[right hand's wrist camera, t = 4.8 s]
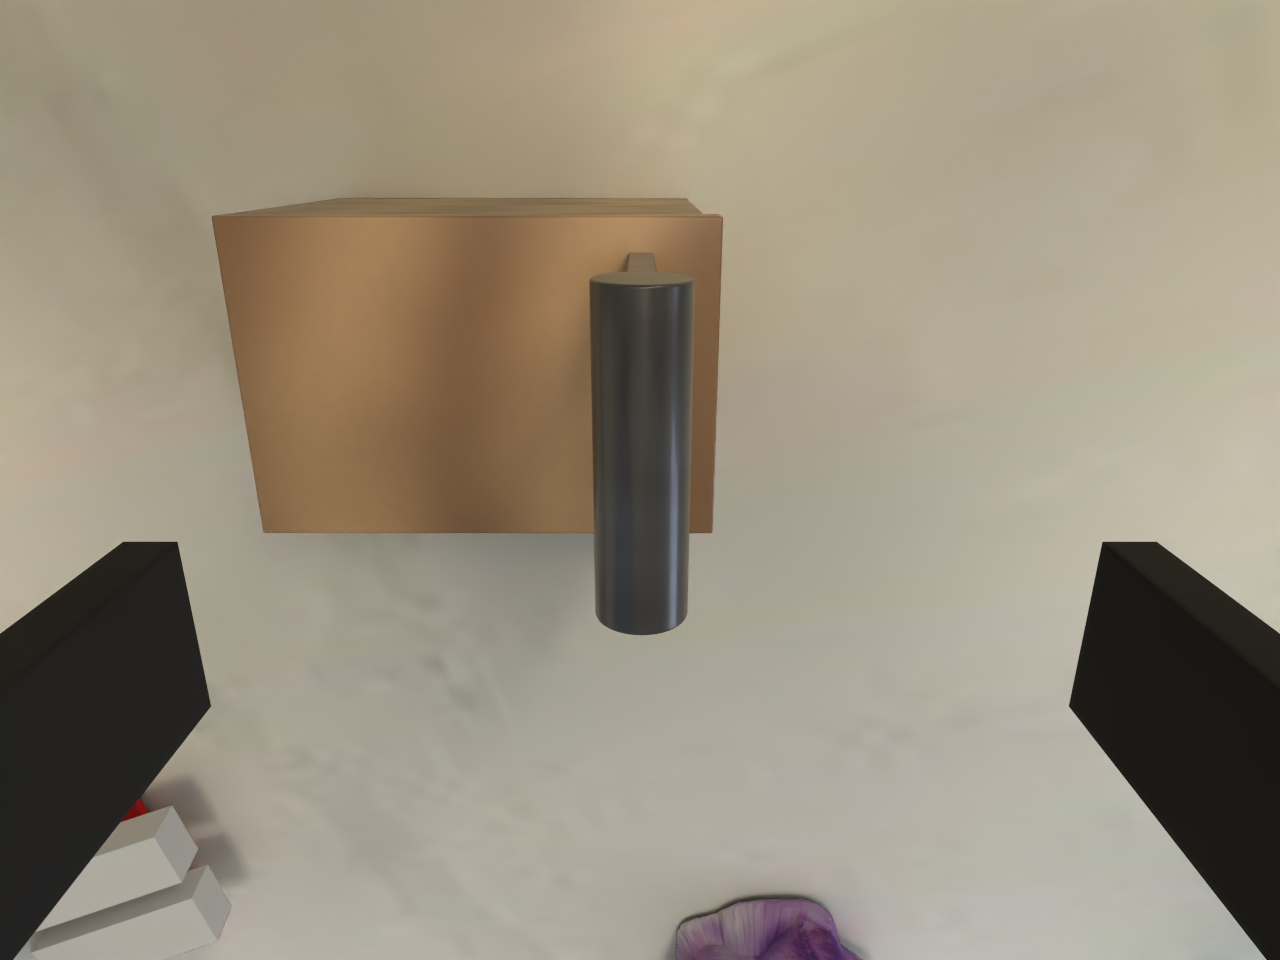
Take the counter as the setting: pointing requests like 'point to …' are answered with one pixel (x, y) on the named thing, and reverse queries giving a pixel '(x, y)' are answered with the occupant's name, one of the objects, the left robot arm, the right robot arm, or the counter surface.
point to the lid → (486, 381)
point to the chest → (488, 206)
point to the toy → (135, 898)
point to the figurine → (763, 933)
